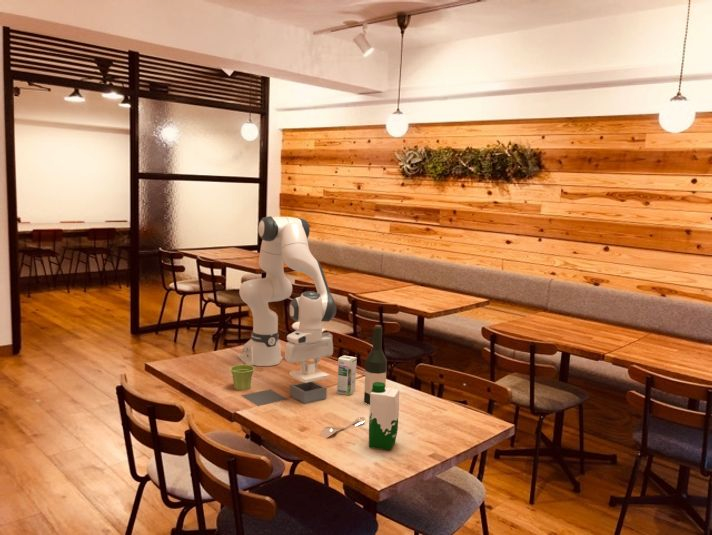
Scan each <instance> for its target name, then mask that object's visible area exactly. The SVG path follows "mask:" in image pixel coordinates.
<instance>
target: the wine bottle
mask: <svg viewBox="0 0 712 535" xmlns="http://www.w3.org/2000/svg"><path fill="white" fill-rule="evenodd" d="M372 340H373V341H372V349H371V350H370V351H371V352H369V354H368V356H367V357H366V359H365V371H364V372H365V377H364V392H363V393H364V394H363V395H364V396H363V402H364V403H365V404H366V403H367V405H368V404H369V406H370V393H371V391H372V387H373V383H375V382H381V383H384V384H385V387H386V385H387V383H386V382H387V364H388V359H387V357H386V356H385V354H384V351H383V349H382V340H383V327H382V325H381V324H375V325H374V326H373V336H372Z"/></svg>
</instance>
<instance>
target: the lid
mask: <svg viewBox="0 0 712 535" xmlns="http://www.w3.org/2000/svg"><path fill="white" fill-rule="evenodd" d="M304 364H305V366H307V371H305V372H303V371H302V369H299V370H298V369H297V370H294V371H289V375H288V376H290V377H293V378H294V379H295V380H296V379H297V380H298V381H301V382H302V383H303V382H305V383H307V382H312V381H314V382H316V381H317V382H318V381H321V380H326V379H330V374H329V373H326V372H323V371H322V370H320V369H318V368H317V369H315V363H314V362H312V361H307V362H306V361H305V363H304Z"/></svg>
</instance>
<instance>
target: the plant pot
mask: <svg viewBox="0 0 712 535" xmlns="http://www.w3.org/2000/svg"><path fill="white" fill-rule="evenodd" d="M229 370H230V371H231V375H232V382H233V389H234V390H235V391H248V390H250V389H251V385H252V378H253V374H254V370H255V367H254V365H246V364H237V365H233V366H231V367H230V369H229Z"/></svg>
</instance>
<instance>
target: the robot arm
mask: <svg viewBox="0 0 712 535" xmlns="http://www.w3.org/2000/svg"><path fill="white" fill-rule="evenodd" d="M257 229H258V230H257V231H258V235H259V238H260V239H261V240H262V241H261V245H260V250H259V255H258V256H259V257H258V266H259V268H260V269H261V270H262V271H264V272H265V274H266V275H265V277H263V278H253V279H248V280H246V281H242V283H241V284H240V287H239V292H238V293H239V297H240V299H241V300H242V301H243V303H245V304H246V305H247V306H248V307H249V309H250V312H251V314H252V321H253V322H252V323H253V324H252V331H251V332H250V339H249V340H248V341H247V342H245V343H244V344H243V348H242V352H241V353H238V354H237V358H238V359H239V360H241V362H243V363H244V365H250V366H257V367H270V366H271V367H272V366H276V365H279V364H280V363H281V362H282V360H283V359H285V361H286V362H288V363H290V364H291V363H292V364H293V363H298V362H299V364H300V366H301V370H302V371H303V372H305V371H307V366H305V364H304V363H306V361H309V360H313V363H315V369H317V370H318V364H319V362H320V361H321V358H325V357H326V358H327V357H331V356H332V355H333V353H334V343H333V334H332V333H330V332H328V331H327V332H323V325H322V322H325V323H327V322H330V321H331V320H332V319H333V318H335V316H336V314H337V305H336V301H335V299H334V298H333V295H332V293H331V291H330V287H329V284H328V282H327V279H326V276H325V272H324V270H323V268H322V265H321V262H320V261H319V260H318V259H316V258H315V257H314V256H313V254H312V252H311V250H310V248H309V247H310V246H309V242H308V238H309V236H310V231H311V229H310V224H309V222H308V221H307V219H305V218H301V217H293V216H271V215H270V216H268V215H267V216H265V217H262V218H261V219H260V220H259V223H258V227H257ZM284 264H285V265H286V266H287V267H288V268H289V269H291V270H292V271H295V272H299V273H302V274H303V275H307V276H308V277H310V278H311V280H313V283H314V285H315V289H316V292H315V291H314V290H313V291H311V290H310V291H308V290H307V291H304V292H302V293H301V295H300V296H298V297H294V298H293V299H292V300H291V301H290V303H289V306H288V307H289V309H288V312H289V313H288V314H289V318H291V319H292V320H293V321H294V322H297V323H298V322H299V325H298V328H297V330H295V331H293V332H291V333H289V334H287V336H286V340H287V342H286V345H285V348H284V349H285V351H284V358H283V356H282V354H281V353H282V352H281V350H282V349H281V342H280V341H279V336H280V335H279V331H278V330H279V329H278V328H279V327H278V326H279V317H278V314H277V313H276V312H275V311H273V310H272V309H270V307H269V306H270V305H269V303H272V302H280V301H284V300H286V299H288V298H290V297H291V295H292V293H293V284H292V282H291V280H290V279H289V278H288V277H287V276H286V274H285V269H284V266H285V265H284Z"/></svg>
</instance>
